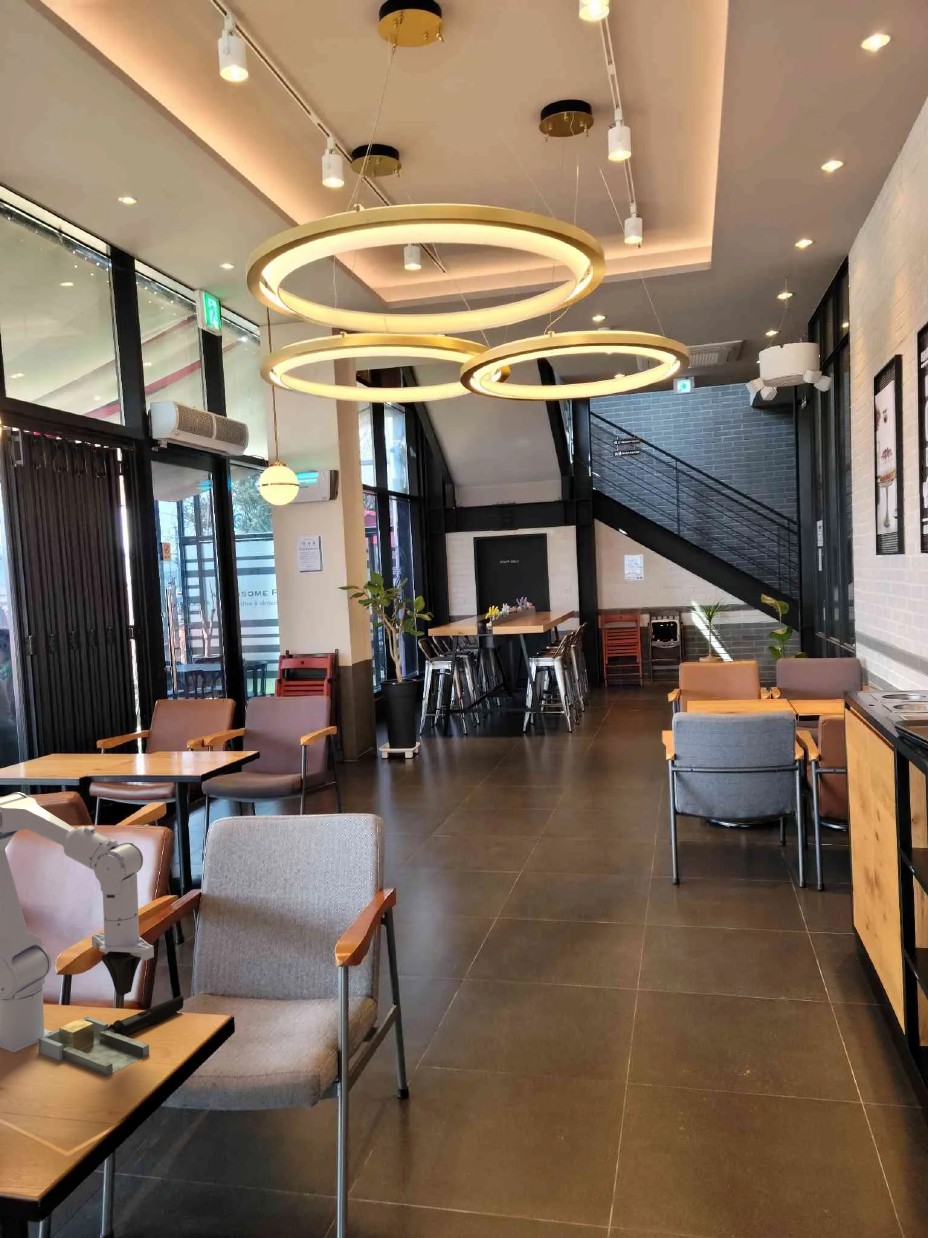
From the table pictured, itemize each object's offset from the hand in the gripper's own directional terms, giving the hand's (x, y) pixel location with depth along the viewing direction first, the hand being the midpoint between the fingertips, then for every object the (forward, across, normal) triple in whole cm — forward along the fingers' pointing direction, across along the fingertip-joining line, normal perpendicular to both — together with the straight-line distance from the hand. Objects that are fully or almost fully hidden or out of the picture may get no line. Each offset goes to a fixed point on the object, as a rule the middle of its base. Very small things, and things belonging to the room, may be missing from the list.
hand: (123, 993), depth 157 cm
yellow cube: (+9, -8, -4) cm, 13 cm away
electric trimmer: (+10, -4, +7) cm, 13 cm away
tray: (+10, -9, -4) cm, 14 cm away
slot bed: (+10, 0, -4) cm, 11 cm away
